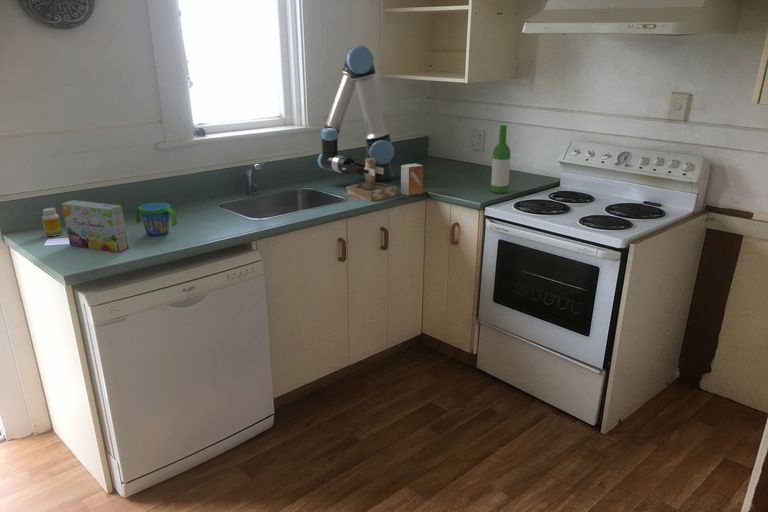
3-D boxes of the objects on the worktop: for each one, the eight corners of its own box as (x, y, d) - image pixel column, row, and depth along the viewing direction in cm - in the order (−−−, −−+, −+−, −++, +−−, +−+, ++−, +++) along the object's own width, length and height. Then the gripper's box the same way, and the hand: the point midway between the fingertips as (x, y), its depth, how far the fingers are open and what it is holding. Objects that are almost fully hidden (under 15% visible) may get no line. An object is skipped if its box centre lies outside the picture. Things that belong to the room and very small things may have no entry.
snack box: (68, 246, 199) (59, 203, 194) (81, 241, 204) (73, 199, 199) (117, 253, 192) (110, 208, 187) (130, 248, 197) (123, 204, 192)
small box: (408, 196, 264) (408, 167, 260) (400, 193, 269) (400, 165, 265) (423, 193, 268) (423, 165, 264) (414, 191, 274) (415, 163, 269)
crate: (371, 189, 277) (371, 181, 276) (396, 195, 266) (396, 186, 265) (346, 195, 266) (346, 186, 265) (370, 201, 256) (370, 192, 254)
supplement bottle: (43, 235, 211) (38, 209, 208) (59, 232, 215) (54, 206, 212) (48, 238, 208) (43, 211, 204) (64, 235, 211) (59, 209, 208)
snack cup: (185, 231, 214) (182, 204, 211) (165, 239, 205) (161, 211, 202) (151, 227, 220) (147, 200, 216) (130, 235, 211) (125, 207, 207)
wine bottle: (511, 192, 269) (515, 126, 259) (496, 194, 266) (500, 126, 256) (501, 189, 276) (505, 124, 266) (487, 190, 273) (491, 125, 263)
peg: (370, 184, 268) (370, 157, 264) (377, 185, 265) (377, 159, 261) (363, 185, 265) (363, 159, 261) (370, 187, 262) (370, 160, 258)
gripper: (357, 170, 282) (392, 177, 266) (329, 175, 270) (364, 183, 254) (357, 154, 279) (392, 161, 263) (329, 159, 267) (364, 166, 252)
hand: (378, 172), depth 259 cm, fingers closed on peg, 4 cm apart
